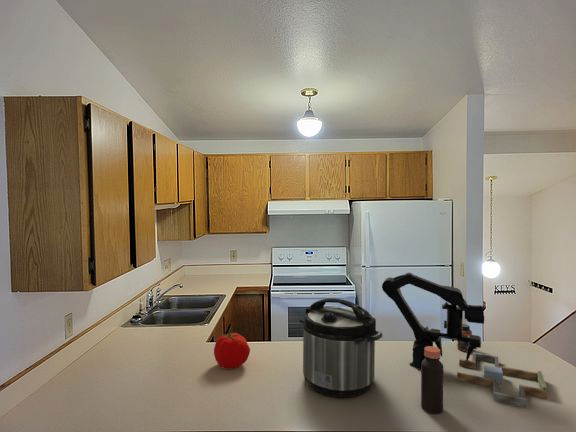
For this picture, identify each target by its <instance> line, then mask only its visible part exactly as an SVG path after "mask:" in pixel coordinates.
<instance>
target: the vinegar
mask: <svg viewBox="0 0 576 432" xmlns="http://www.w3.org/2000/svg"><path fill="white" fill-rule="evenodd" d="M424 355H425V359H424V360H423V361H422V363H421V369H420V371H421V374H420V379H421V381H420V385H421V386H420V387H421V388H420V389H421V391H420V395H421V396H420V406H421V409H422V410H423V411H424V412H427V413H429V414H432V415H438V414H442V412H443V411H444V364H443V362H441V361H440V359H441V355H440V349H439V348H437V346H434V345H433V346H427V347H425V348H424Z"/></svg>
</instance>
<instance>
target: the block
mask: <svg viewBox="0 0 576 432" xmlns="http://www.w3.org/2000/svg"><path fill="white" fill-rule="evenodd" d="M503 376H504V374H503V372H502V368H499V367H495V365H494V366H493V365H488V364H483V377H484V378H489V379H494V380H497V384H503V381H504V378H503Z"/></svg>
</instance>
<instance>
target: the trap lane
mask: <svg viewBox="0 0 576 432" xmlns="http://www.w3.org/2000/svg"><path fill="white" fill-rule="evenodd" d="M478 360H479V361H482V362H487V363H493V364H494V367H499V368H502V372H503V375H506V376H513V377H517V378H521V379H522V378H523V379H527V380H532V381H537V383H538V387H539V388H537V387H534V386H533V387H532V386H528V385H523V384H519V385H518V392H519V396H515V395H510V394H506V393H501V392H498V383H497V380H494V379H489V378H484V376H479V375H478V376H477V375H474V374H469V373H465V372H464V373H463V372H458V371H456V372H457V373H456V378H457V379H456V380H457V381H460V382H461V381H462V382H464V383H465V382H466V383H471V384H476V385H479V386H484V387H489V388H492V394H493V395H492V398H493V401H495V402H499V403H504V404H507V405H511V406H512V405H513V406H517V407H521V408H525V409H526V408H527V397H526V395H528V396H533V397H537V398H542V399H548V387H547V384H546V382H545V381H546V380H545V378H544V375H543V372H542V371H539V370H537V372H536V371H535V372H534V371H528V370H523V369H518V368H512V367H508V366H507V367H506V366H501V365H500V362H499V356H497V355H492V354H487V353H486V354H485V353H479V352H474V351H472V360H469V359H468V361H466V359H464V358H463V359H462V358H459V359H458V365H459V366H460V367H462V368H463V367H464V368H470V369H474V370H475V369H476V367H477V366H476V361H478Z"/></svg>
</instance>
